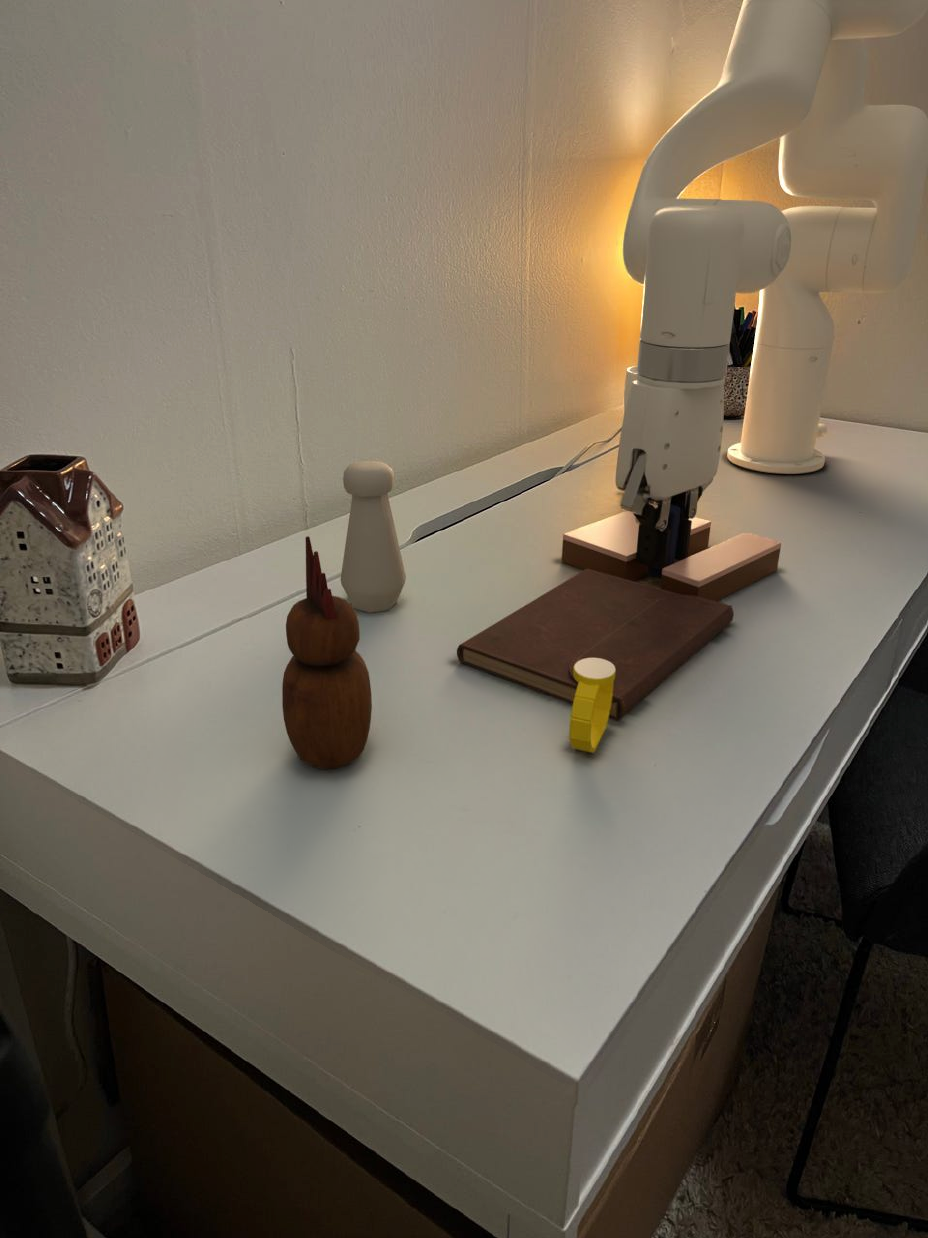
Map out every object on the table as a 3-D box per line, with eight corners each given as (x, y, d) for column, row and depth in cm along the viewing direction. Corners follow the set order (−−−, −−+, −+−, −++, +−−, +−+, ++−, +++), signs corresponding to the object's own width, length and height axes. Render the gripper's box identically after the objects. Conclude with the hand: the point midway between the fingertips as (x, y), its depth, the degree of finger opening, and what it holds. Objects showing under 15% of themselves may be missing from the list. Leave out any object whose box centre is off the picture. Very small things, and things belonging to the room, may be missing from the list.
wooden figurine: (292, 727, 65) (274, 528, 59) (374, 724, 66) (365, 526, 59) (283, 784, 59) (262, 569, 53) (373, 780, 60) (363, 566, 53)
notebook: (456, 660, 74) (456, 638, 74) (582, 582, 88) (584, 563, 88) (621, 722, 66) (624, 698, 65) (732, 625, 80) (735, 605, 79)
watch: (582, 716, 67) (587, 643, 64) (620, 724, 66) (626, 650, 63) (557, 759, 62) (561, 682, 59) (597, 769, 61) (603, 691, 58)
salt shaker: (415, 595, 86) (413, 458, 80) (391, 620, 81) (386, 477, 75) (358, 586, 88) (351, 452, 82) (331, 611, 83) (322, 470, 77)
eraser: (653, 568, 89) (659, 501, 86) (675, 573, 88) (682, 505, 85) (644, 576, 88) (651, 508, 85) (667, 581, 87) (674, 512, 84)
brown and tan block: (645, 528, 102) (648, 502, 101) (707, 548, 97) (711, 521, 95) (561, 561, 93) (562, 533, 92) (624, 585, 88) (627, 556, 87)
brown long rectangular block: (741, 559, 94) (745, 531, 93) (777, 570, 91) (781, 542, 90) (658, 598, 85) (662, 568, 84) (695, 612, 83) (699, 581, 81)
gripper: (698, 345, 87) (678, 530, 95) (587, 369, 77) (575, 572, 85) (770, 356, 82) (742, 550, 90) (661, 383, 72) (641, 597, 80)
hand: (661, 559), depth 87 cm, fingers closed on eraser, 2 cm apart
